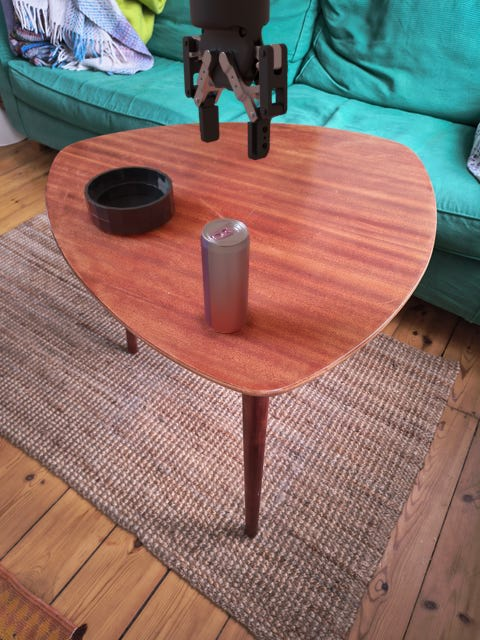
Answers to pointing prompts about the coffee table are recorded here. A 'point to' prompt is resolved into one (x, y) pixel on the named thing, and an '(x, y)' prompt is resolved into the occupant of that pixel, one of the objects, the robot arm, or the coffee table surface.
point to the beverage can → (225, 273)
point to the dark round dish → (130, 200)
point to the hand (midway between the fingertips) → (233, 149)
